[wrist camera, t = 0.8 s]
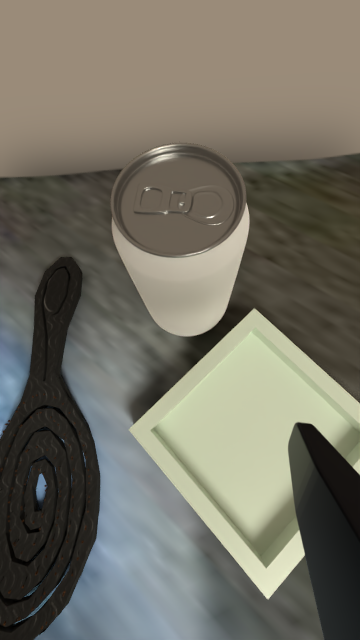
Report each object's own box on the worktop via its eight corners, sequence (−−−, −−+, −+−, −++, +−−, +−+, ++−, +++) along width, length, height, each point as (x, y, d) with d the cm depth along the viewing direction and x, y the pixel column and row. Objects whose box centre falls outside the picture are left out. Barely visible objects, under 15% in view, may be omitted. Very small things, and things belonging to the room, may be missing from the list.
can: (223, 343, 22) (251, 275, 10) (141, 332, 23) (83, 257, 11) (230, 267, 24) (262, 138, 12) (154, 259, 24) (117, 130, 13)
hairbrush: (105, 240, 22) (67, 672, 14) (118, 265, 26) (93, 622, 17) (4, 246, 23) (-92, 666, 14) (30, 269, 26) (-35, 618, 18)
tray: (380, 436, 19) (399, 439, 18) (260, 578, 18) (267, 599, 16) (249, 316, 22) (254, 308, 21) (134, 427, 21) (128, 429, 19)
